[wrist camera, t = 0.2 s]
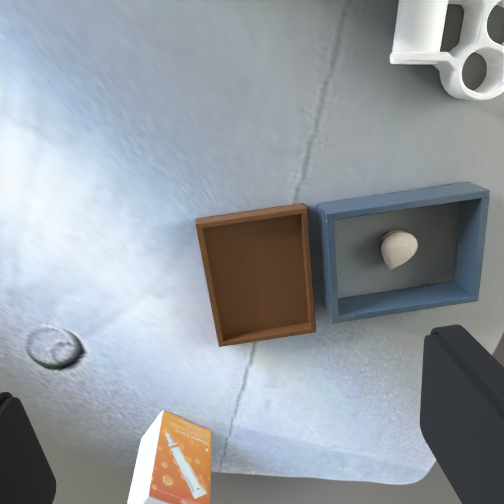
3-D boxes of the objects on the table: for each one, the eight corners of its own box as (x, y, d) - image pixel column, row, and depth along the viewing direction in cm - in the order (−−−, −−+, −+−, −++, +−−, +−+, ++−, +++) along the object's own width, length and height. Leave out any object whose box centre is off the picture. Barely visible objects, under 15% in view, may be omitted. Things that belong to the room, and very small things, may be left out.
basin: (317, 203, 46) (326, 214, 42) (468, 181, 47) (490, 190, 43) (324, 306, 51) (332, 323, 48) (459, 285, 52) (478, 301, 48)
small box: (212, 429, 58) (211, 519, 46) (189, 457, 60) (183, 552, 48) (162, 407, 56) (147, 496, 44) (140, 437, 57) (119, 531, 45)
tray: (196, 218, 46) (195, 224, 44) (303, 202, 46) (306, 207, 44) (218, 337, 52) (219, 347, 50) (312, 323, 52) (316, 332, 50)
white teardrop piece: (415, 230, 48) (426, 237, 46) (402, 267, 50) (411, 276, 48) (382, 224, 48) (390, 232, 45) (370, 263, 50) (377, 272, 47)
